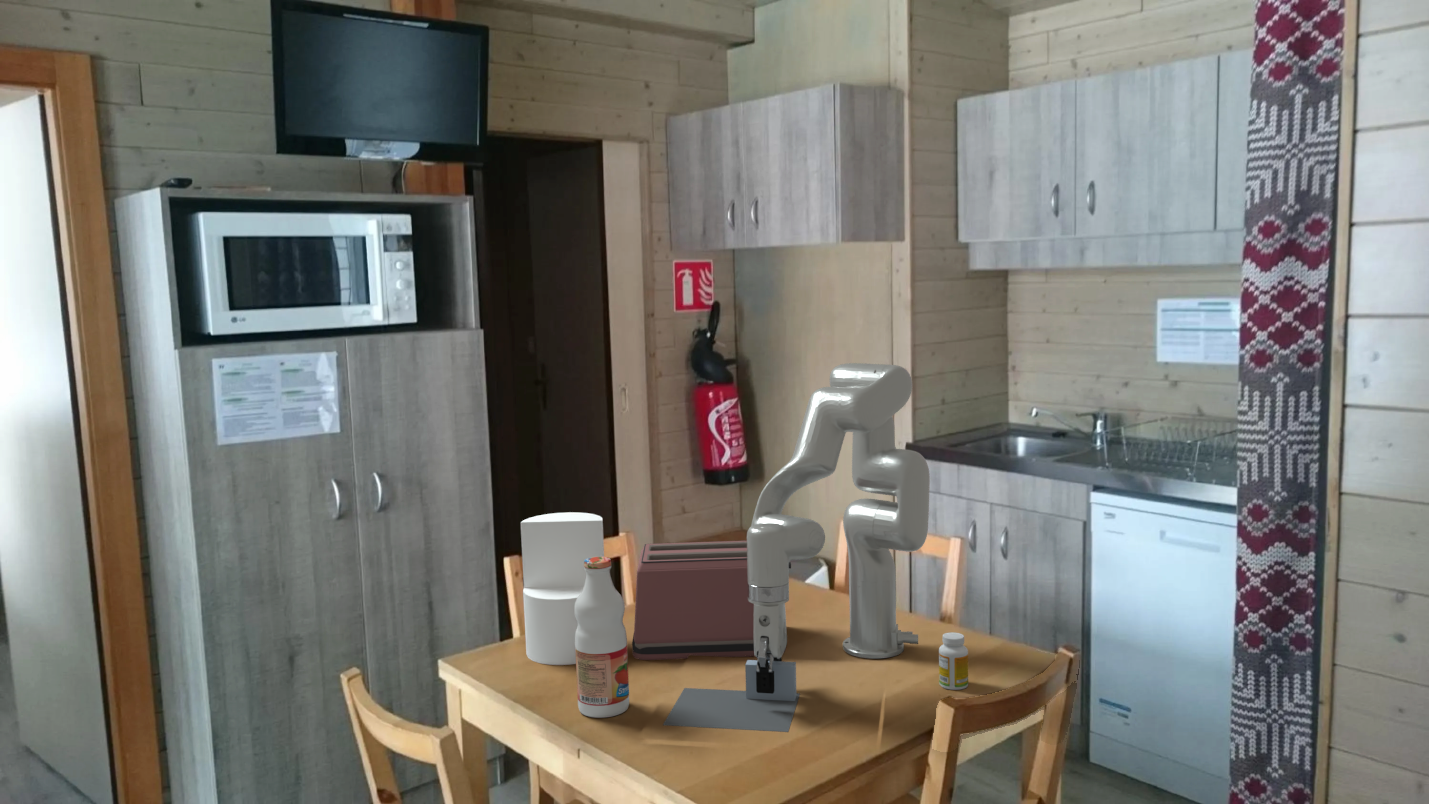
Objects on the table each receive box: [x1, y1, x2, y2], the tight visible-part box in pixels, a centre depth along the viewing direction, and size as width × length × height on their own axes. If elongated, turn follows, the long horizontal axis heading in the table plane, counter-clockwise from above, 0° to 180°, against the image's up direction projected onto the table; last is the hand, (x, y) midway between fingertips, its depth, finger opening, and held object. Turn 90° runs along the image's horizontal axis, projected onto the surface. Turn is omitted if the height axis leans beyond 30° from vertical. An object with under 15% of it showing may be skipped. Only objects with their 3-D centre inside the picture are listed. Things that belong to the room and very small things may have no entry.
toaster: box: [631, 540, 792, 661], centre depth 230 cm, size 19×34×20 cm, turn 91°
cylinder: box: [520, 511, 605, 666], centre depth 228 cm, size 17×17×28 cm
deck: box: [744, 659, 797, 701], centre depth 198 cm, size 9×2×6 cm, turn 79°
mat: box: [662, 687, 801, 733], centre depth 194 cm, size 22×17×1 cm
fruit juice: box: [574, 556, 630, 719], centre depth 196 cm, size 9×9×28 cm
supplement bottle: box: [938, 632, 969, 691], centre depth 203 cm, size 5×5×10 cm
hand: (769, 682), depth 198 cm, fingers open, 9 cm apart
